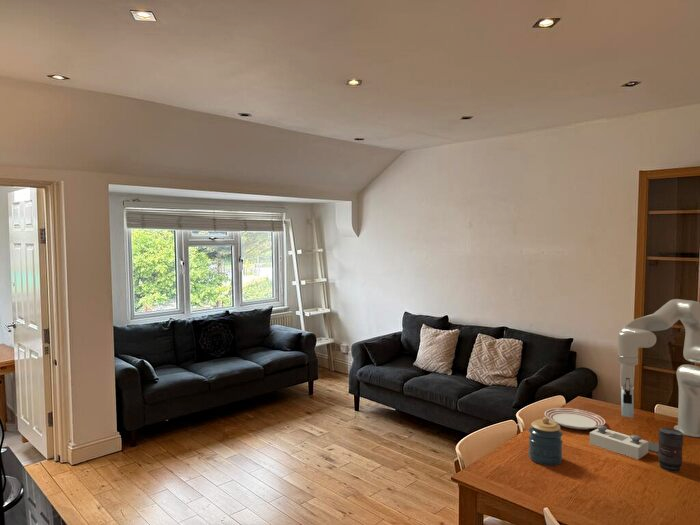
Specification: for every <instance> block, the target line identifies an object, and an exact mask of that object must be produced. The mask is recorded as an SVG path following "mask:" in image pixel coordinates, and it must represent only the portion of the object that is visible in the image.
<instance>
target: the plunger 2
mask: <svg viewBox="0 0 700 525" xmlns="http://www.w3.org/2000/svg"><path fill="white" fill-rule="evenodd" d="M629 436H630V438H631V439H632V443H635V444H639V440H641V439H642V436H640V435H639V434H630V435H629Z"/></svg>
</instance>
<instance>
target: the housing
mask: <svg viewBox="0 0 700 525" xmlns="http://www.w3.org/2000/svg"><path fill="white" fill-rule="evenodd" d="M588 440H589V442H588V444H589V445H591V446H595V447H598V448H601V449H604V450H608V451H610V452H614V453H617V454H620V455H623V456H625V455H626V456H625V457H628V456H629V458H631V457H632V458H631V459H635V460H640V459H642V458H643V457H645V456H646V455H647V454H649V451H648V441H649V440H646V439H642V438H641V440H639V444H635V443H632V439H631V438H630V435H627V434H624V433H622V432H617V431H614V430H612V429H608V428H607V430H605V434H602V433H599V429H597V428H595V429H594V430H592V431H590V432H589V439H588ZM645 440H646V441H645Z"/></svg>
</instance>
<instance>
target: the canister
mask: <svg viewBox="0 0 700 525" xmlns="http://www.w3.org/2000/svg"><path fill="white" fill-rule="evenodd" d="M528 430H529V436H528V440H529V442H528V443H529V444H528V446H529V447H528V456H529V459H530V460H531V461H533V462H534V463H537V464H539V465H543V466H558V465H560V464H562V463H563V462H562V461H563V443H564V442H563V440H562V437H563V435H564V433H563V432H562V430H561V425H559V424H557V423H555V422H554V421H551V420H549V419H548V418H547V417H546V416H543V417H542V418H539V419H536V420H533V421H531V423H530V426H529V428H528Z"/></svg>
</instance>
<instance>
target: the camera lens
mask: <svg viewBox="0 0 700 525" xmlns="http://www.w3.org/2000/svg"><path fill="white" fill-rule="evenodd" d="M658 444H659V452H658V453H657V457H658V464H659V467H660V468H661V469H663V470H665V471H668V472H672V473H678V472H680V470H681V468H682V464H683V448H684V447H683V445H684V435H683V433H682V432H681V431H679V430H676V429H674V428H671V427H660V428H659V431H658Z"/></svg>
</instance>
